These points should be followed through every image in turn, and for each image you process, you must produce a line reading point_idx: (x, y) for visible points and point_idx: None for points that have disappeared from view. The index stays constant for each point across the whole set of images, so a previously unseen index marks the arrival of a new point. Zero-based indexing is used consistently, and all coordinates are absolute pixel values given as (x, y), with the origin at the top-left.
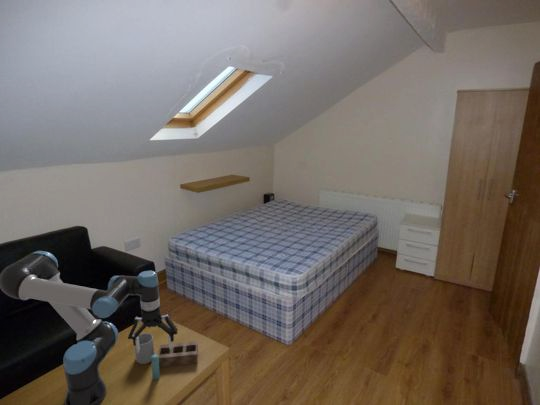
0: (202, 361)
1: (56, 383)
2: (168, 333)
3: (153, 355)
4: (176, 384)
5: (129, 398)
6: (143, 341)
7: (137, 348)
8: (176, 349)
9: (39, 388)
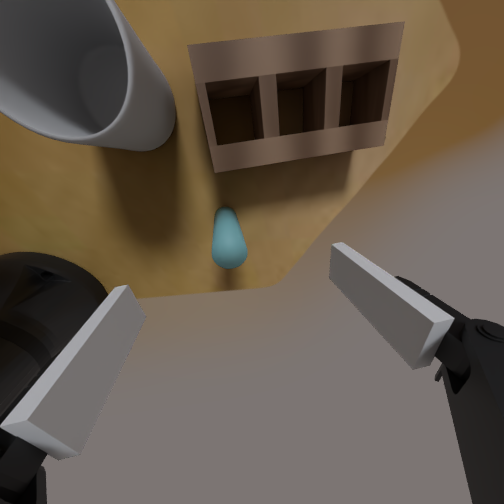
0: None
1: None
2: (462, 416)
3: (220, 245)
4: (291, 242)
5: (180, 289)
6: (42, 1)
7: (126, 348)
8: (283, 79)
9: None
